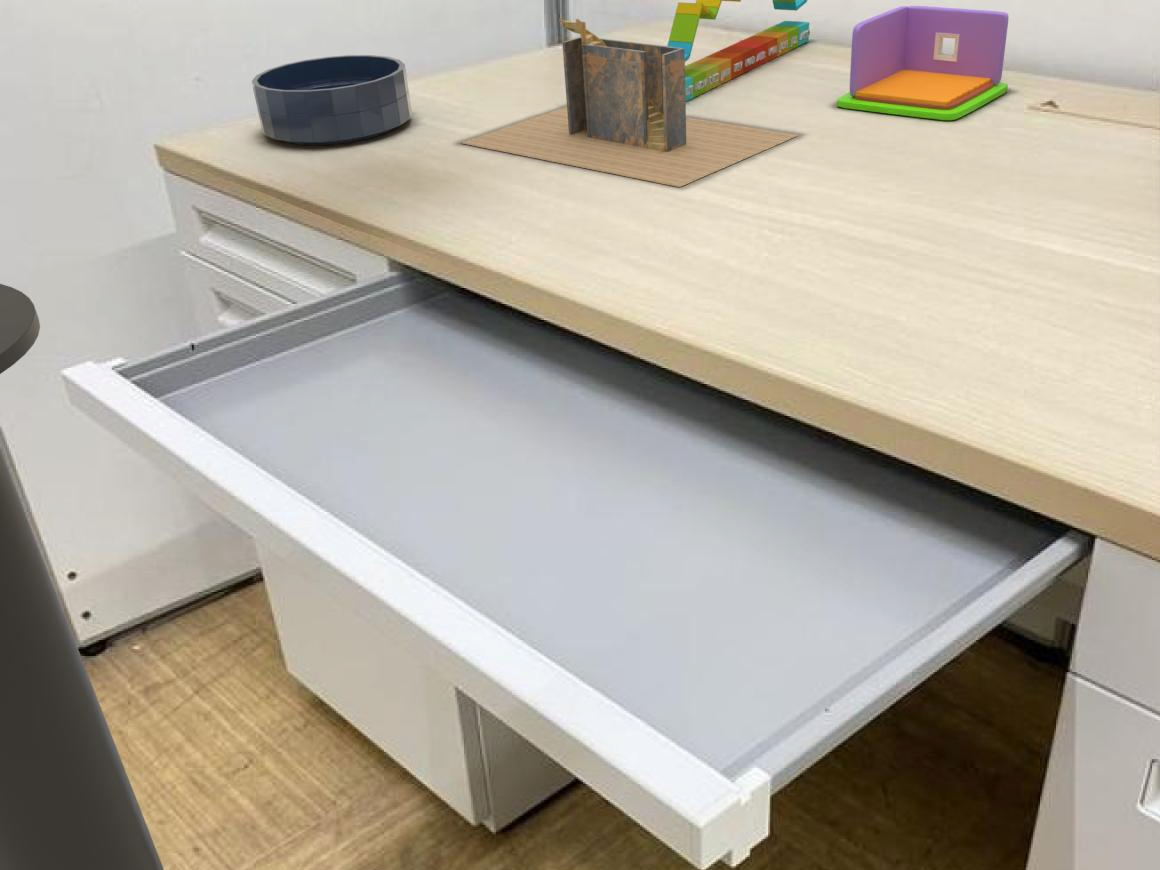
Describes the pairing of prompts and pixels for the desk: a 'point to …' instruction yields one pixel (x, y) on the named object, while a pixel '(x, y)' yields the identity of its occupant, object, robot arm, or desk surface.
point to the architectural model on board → (628, 117)
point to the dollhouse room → (927, 62)
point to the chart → (737, 55)
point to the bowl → (332, 99)
